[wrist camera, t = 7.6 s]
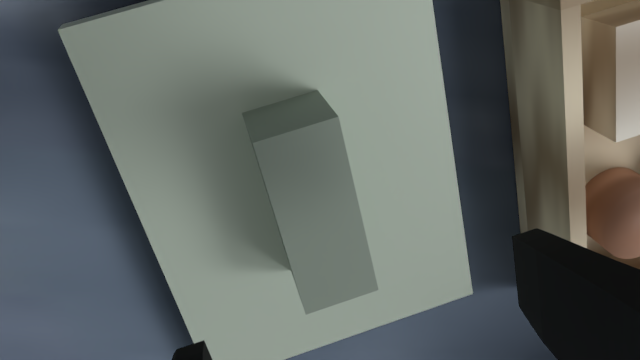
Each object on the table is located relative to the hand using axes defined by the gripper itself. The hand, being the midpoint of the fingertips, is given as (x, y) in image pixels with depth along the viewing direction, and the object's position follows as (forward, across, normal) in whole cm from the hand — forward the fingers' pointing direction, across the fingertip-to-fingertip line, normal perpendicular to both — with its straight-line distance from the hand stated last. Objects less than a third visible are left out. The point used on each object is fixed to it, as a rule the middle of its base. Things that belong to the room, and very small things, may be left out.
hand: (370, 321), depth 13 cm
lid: (+8, 0, 0) cm, 8 cm away
